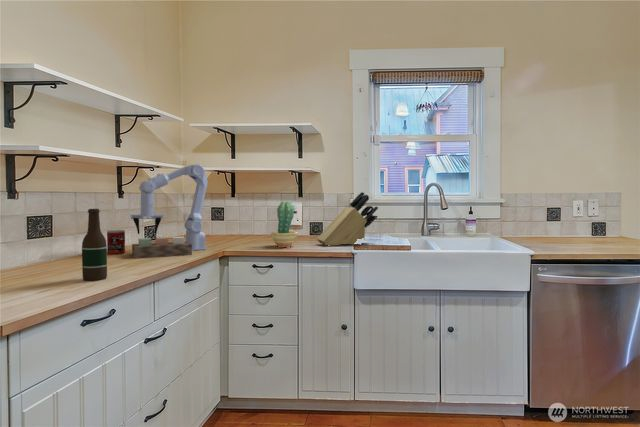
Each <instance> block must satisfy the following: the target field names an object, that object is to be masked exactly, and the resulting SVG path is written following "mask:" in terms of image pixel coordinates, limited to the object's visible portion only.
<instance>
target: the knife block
mask: <svg viewBox="0 0 640 427" xmlns="http://www.w3.org/2000/svg"><path fill="white" fill-rule="evenodd" d="M369 200H370V196H369V195H368V194H365V192H364V191H361V192H360V193H358V194H357V196H356V197H355V198H354V199H353V200H352V201H351V202H350V204H349V205H348V206H345V207H344V209H342V210H341V212H340V213H339V214H338V215H337V216H336V217H335V218H334V219H333V220H332V221H331V222H330V223H329V225H327V227H326V228H325V229H324V230H323V231H322V232H321V234H319V235H318V237H317V238H316V240H317V242H318V243H319V244H321V245H325V246H327V245H330V246H340V245H339V244H353V245H355V244H354V243H355V242H356V241H357V239H362V238H364V239H365V234H366V228H368V227H369V226H371V224H373V222H374V221H375V220H376V219H378V215H373V214H374V213H376V211H378V209H379V207H378V206H377V205H376V206H372V205H368V206H366V207H364V206H365V205H366V204H367V203H368V201H369ZM363 207H364V209H363V210H362V211H361V212H359V211H360V210H361V209H362V208H363Z"/></svg>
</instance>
